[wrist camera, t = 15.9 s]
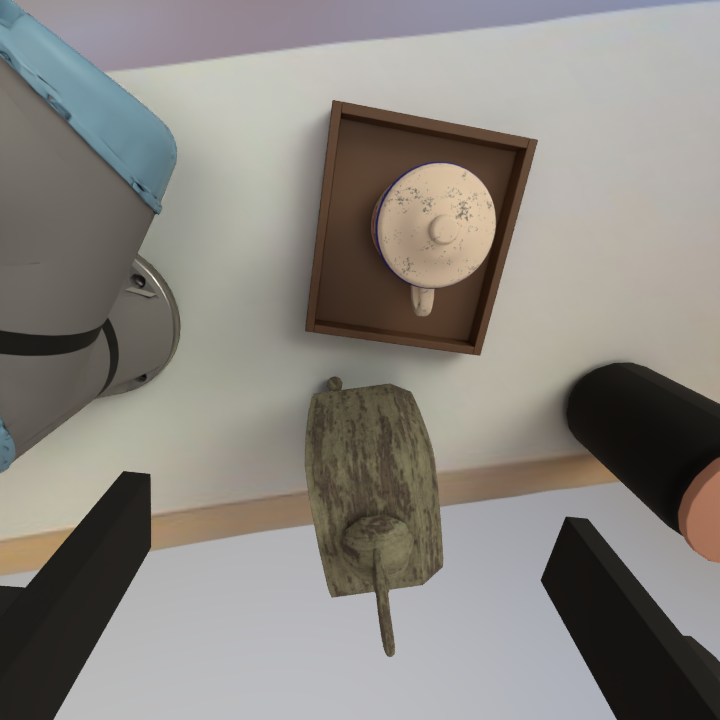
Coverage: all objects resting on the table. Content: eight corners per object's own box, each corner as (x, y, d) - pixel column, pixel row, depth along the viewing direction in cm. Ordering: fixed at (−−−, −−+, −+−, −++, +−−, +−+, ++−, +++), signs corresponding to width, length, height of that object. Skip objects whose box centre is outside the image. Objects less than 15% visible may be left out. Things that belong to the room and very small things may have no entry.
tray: (307, 324, 42) (305, 331, 40) (333, 108, 36) (332, 99, 33) (471, 347, 44) (480, 355, 41) (524, 145, 37) (538, 139, 35)
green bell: (315, 366, 44) (288, 543, 20) (399, 355, 44) (470, 518, 20) (335, 480, 49) (332, 729, 25) (411, 469, 49) (478, 708, 25)
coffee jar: (561, 450, 49) (679, 576, 32) (561, 367, 45) (694, 459, 28) (650, 435, 49) (817, 553, 32) (657, 350, 45) (850, 433, 28)
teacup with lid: (369, 171, 37) (381, 153, 26) (468, 174, 37) (521, 157, 27) (366, 302, 41) (375, 335, 30) (455, 303, 42) (497, 335, 31)
